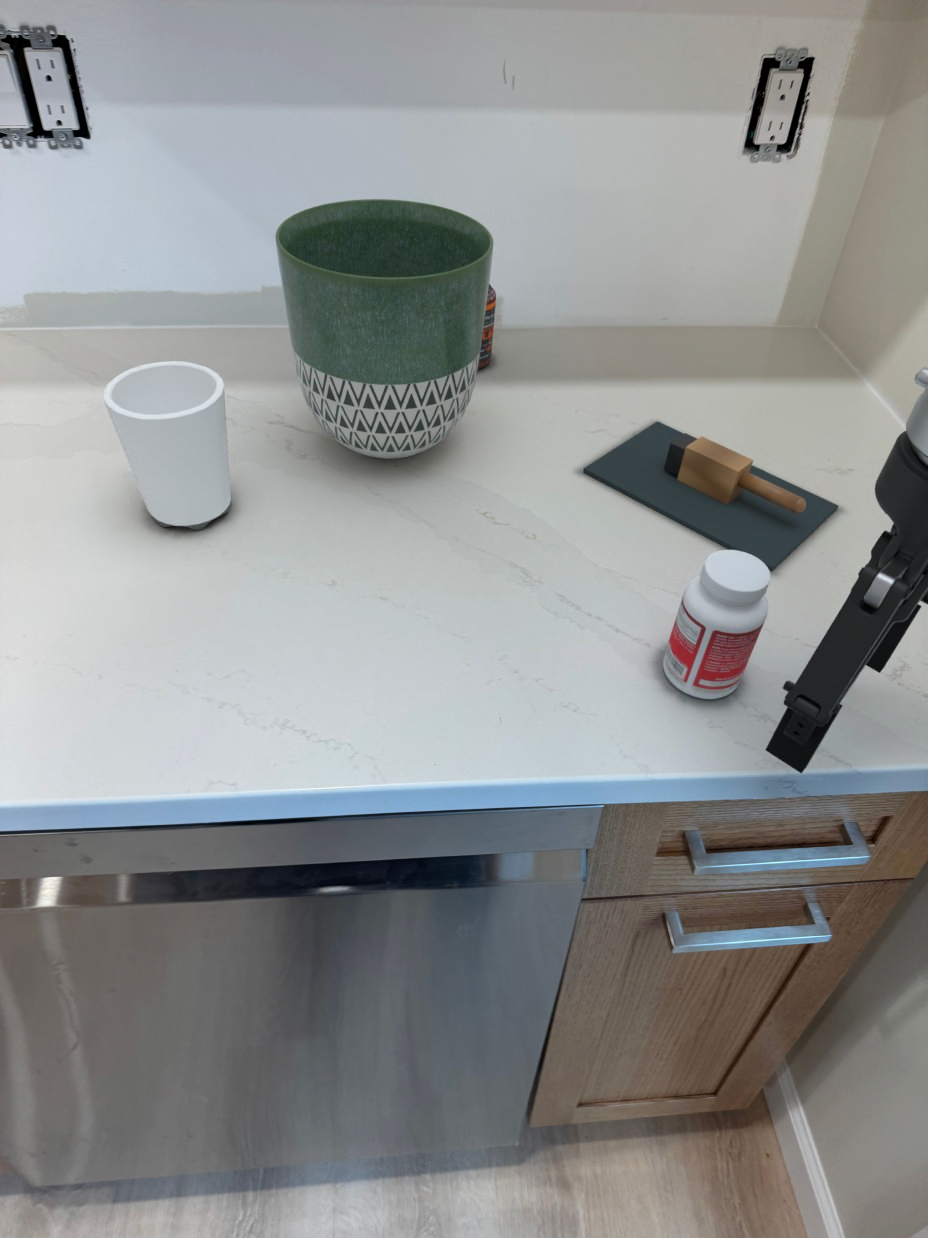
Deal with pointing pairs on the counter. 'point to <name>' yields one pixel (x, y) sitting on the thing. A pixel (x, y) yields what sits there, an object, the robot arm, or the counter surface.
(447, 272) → the planter
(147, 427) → the cup
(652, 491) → the mat
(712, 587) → the pill bottle
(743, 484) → the scrub brush
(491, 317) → the supplement bottle
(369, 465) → the counter surface
